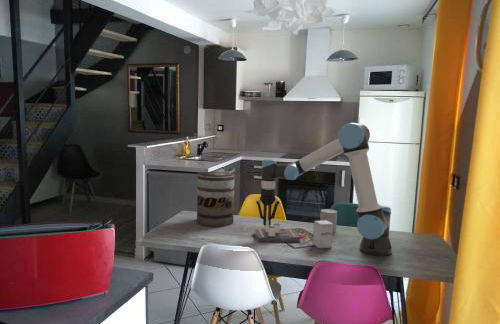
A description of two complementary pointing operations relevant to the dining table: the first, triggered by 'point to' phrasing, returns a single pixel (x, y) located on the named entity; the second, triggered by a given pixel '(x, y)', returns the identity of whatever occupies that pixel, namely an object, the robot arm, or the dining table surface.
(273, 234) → the breaker
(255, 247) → the dining table surface
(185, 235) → the dining table surface
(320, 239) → the supplement box
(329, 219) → the grey block
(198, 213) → the barrel
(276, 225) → the breaker mid
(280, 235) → the panel
